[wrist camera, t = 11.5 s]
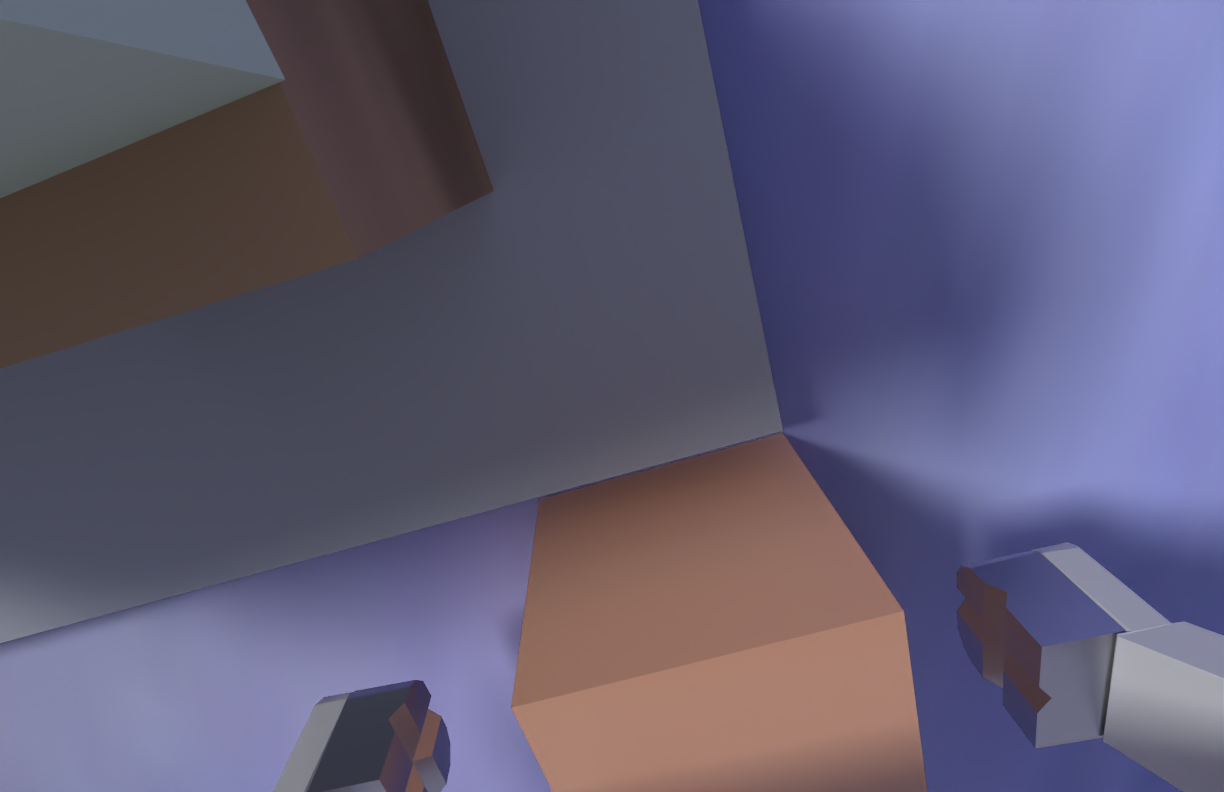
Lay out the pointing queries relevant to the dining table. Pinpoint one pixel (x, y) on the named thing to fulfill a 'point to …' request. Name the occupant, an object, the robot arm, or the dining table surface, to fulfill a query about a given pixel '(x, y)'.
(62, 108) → the plank
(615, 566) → the cube
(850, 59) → the dining table surface
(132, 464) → the board
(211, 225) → the tan wooden block
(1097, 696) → the robot arm
